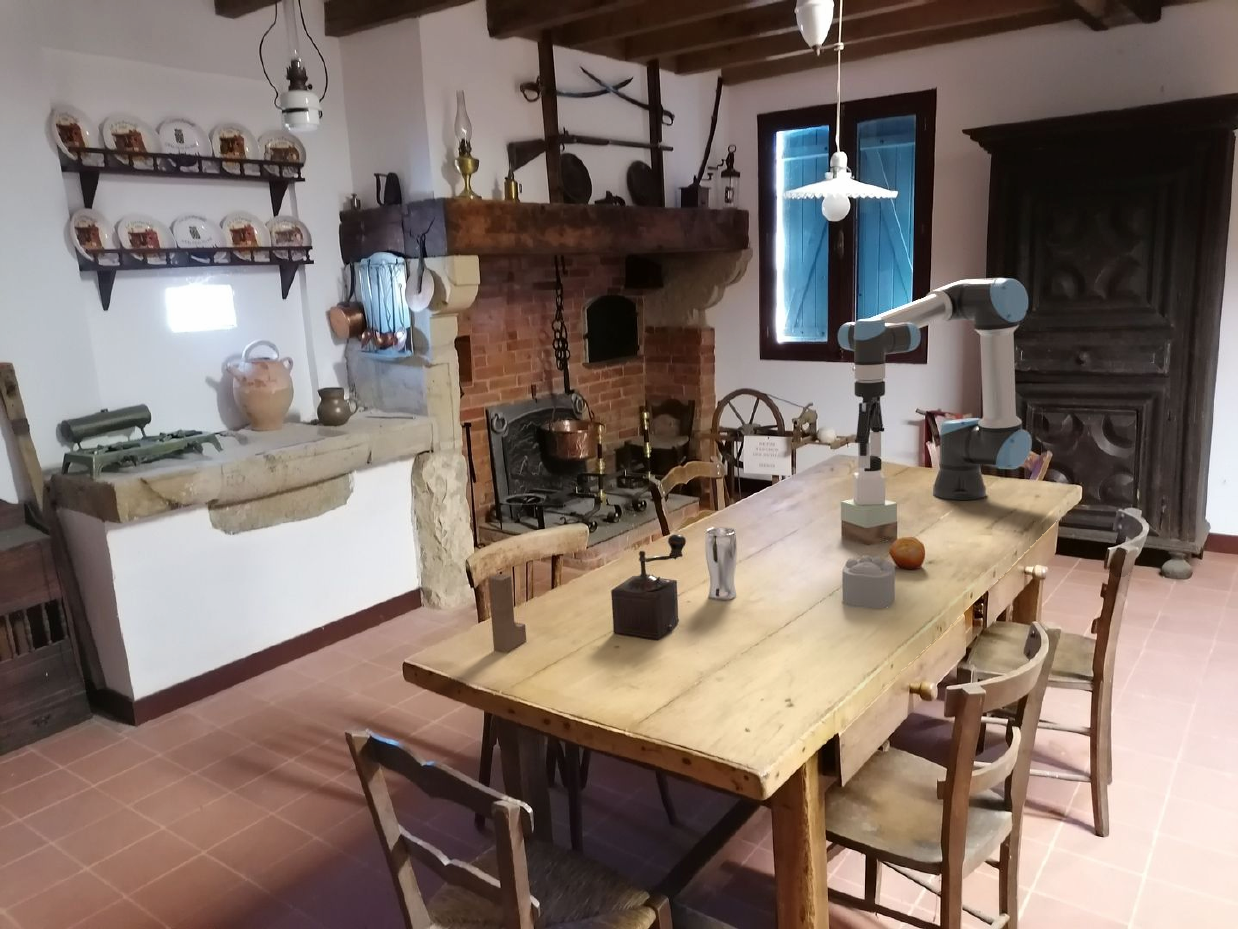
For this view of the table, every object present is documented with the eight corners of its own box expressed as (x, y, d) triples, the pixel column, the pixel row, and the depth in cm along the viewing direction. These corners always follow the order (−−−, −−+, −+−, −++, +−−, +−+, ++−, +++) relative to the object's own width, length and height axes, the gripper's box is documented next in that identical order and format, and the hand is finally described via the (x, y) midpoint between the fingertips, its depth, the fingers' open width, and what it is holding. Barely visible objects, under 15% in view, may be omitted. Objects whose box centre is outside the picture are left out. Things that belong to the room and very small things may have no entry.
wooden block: (506, 653, 179) (500, 580, 176) (493, 650, 181) (487, 578, 178) (526, 641, 185) (521, 570, 181) (514, 638, 186) (508, 568, 183)
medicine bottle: (880, 498, 242) (881, 453, 240) (885, 504, 235) (885, 459, 233) (853, 498, 243) (853, 454, 241) (857, 505, 236) (857, 459, 234)
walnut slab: (869, 531, 248) (869, 513, 247) (897, 539, 239) (897, 521, 238) (841, 537, 243) (841, 519, 242) (868, 546, 235) (868, 527, 234)
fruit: (928, 555, 220) (926, 532, 215) (924, 580, 215) (922, 557, 210) (893, 552, 223) (891, 529, 218) (888, 577, 218) (886, 554, 213)
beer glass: (718, 603, 200) (716, 537, 196) (700, 594, 206) (698, 530, 203) (744, 597, 203) (742, 531, 200) (726, 588, 209) (724, 524, 206)
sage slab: (870, 513, 246) (870, 495, 245) (896, 521, 238) (897, 503, 237) (840, 519, 242) (840, 501, 241) (866, 528, 233) (866, 509, 232)
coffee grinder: (661, 641, 181) (657, 554, 177) (612, 634, 186) (607, 549, 182) (692, 614, 194) (689, 532, 190) (646, 608, 199) (642, 528, 196)
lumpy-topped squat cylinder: (838, 605, 195) (838, 566, 193) (851, 585, 206) (851, 549, 205) (888, 611, 190) (889, 571, 189) (899, 590, 202) (899, 553, 200)
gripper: (865, 373, 245) (866, 451, 250) (842, 387, 224) (843, 472, 228) (894, 373, 242) (894, 452, 246) (874, 387, 220) (874, 473, 225)
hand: (870, 462), depth 237 cm, fingers open, 13 cm apart
